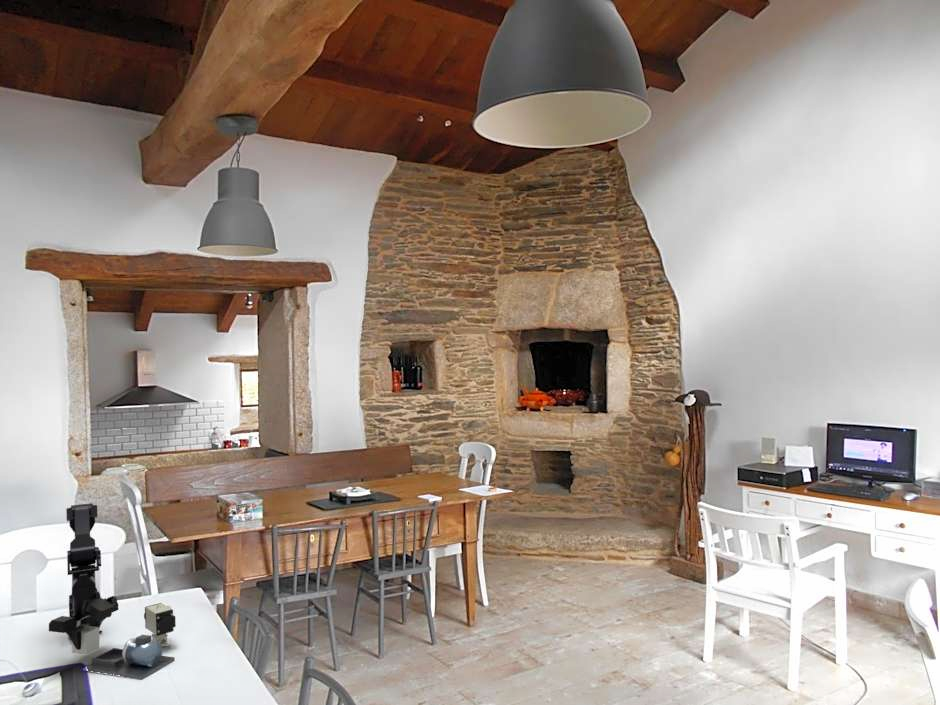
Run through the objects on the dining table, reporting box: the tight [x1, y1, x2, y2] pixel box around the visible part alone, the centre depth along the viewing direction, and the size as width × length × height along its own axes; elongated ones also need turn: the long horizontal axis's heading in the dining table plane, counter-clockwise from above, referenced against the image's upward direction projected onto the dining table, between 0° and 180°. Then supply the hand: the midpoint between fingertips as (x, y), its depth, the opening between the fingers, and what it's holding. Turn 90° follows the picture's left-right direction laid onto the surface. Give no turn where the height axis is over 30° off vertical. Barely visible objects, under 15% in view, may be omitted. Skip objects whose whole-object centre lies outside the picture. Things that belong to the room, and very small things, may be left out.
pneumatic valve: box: [143, 602, 177, 648], centre depth 213 cm, size 6×12×12 cm, turn 44°
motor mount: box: [85, 634, 176, 681], centre depth 199 cm, size 20×12×8 cm, turn 71°
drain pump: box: [71, 624, 100, 656], centre depth 204 cm, size 5×4×7 cm
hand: (85, 646), depth 204 cm, fingers closed on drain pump, 4 cm apart
